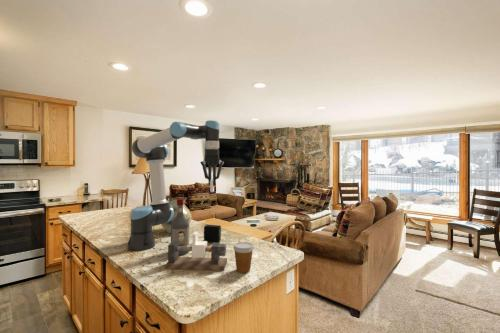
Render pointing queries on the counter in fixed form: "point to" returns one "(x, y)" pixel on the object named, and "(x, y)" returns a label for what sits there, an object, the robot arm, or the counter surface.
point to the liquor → (180, 228)
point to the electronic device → (212, 233)
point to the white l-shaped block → (198, 246)
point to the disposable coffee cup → (243, 256)
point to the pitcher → (174, 206)
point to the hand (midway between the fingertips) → (212, 191)
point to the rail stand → (193, 262)
